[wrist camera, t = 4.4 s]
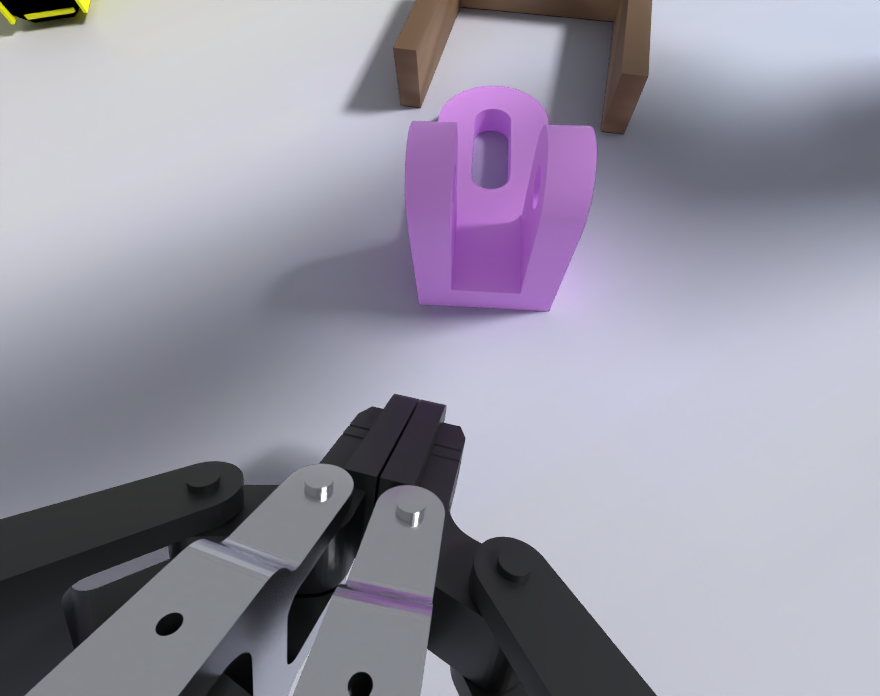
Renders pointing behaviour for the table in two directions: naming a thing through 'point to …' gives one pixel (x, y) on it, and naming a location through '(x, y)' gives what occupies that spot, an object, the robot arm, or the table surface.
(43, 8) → the yellow toy chassis
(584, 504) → the table surface
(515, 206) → the bracket
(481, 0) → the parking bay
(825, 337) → the table surface
